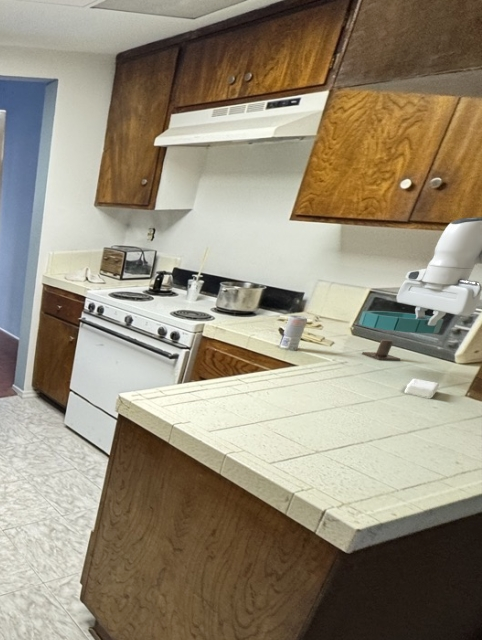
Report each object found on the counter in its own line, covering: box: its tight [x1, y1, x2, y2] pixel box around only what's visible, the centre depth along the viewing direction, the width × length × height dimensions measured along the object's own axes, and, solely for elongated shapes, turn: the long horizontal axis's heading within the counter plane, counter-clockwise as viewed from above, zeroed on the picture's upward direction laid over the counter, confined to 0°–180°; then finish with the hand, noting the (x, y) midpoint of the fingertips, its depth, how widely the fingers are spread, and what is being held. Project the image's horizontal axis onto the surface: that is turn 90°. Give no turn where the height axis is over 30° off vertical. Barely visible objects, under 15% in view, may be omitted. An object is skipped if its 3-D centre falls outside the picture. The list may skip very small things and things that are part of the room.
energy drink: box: [278, 315, 308, 351], centre depth 173 cm, size 5×5×12 cm
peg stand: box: [361, 338, 401, 362], centre depth 165 cm, size 7×7×6 cm
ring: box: [358, 310, 445, 335], centre depth 148 cm, size 17×17×4 cm
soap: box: [404, 378, 440, 399], centre depth 133 cm, size 9×6×3 cm, turn 127°
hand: (424, 323), depth 140 cm, fingers closed on ring, 2 cm apart
